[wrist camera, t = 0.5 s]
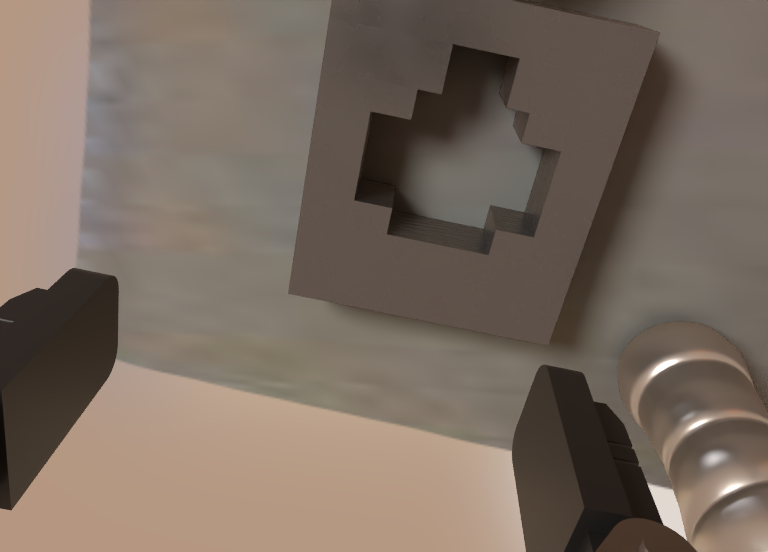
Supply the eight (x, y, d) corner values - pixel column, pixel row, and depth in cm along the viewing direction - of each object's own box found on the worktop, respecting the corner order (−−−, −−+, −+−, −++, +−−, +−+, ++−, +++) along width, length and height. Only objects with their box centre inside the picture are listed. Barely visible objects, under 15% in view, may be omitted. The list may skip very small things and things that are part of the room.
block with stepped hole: (346, -39, 31) (337, -38, 28) (637, 24, 32) (660, 32, 29) (299, 265, 38) (288, 293, 35) (538, 313, 39) (547, 345, 36)
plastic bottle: (714, 401, 41) (942, 757, 23) (601, 399, 41) (735, 748, 23) (736, 306, 38) (1015, 628, 20) (613, 306, 38) (777, 620, 20)
